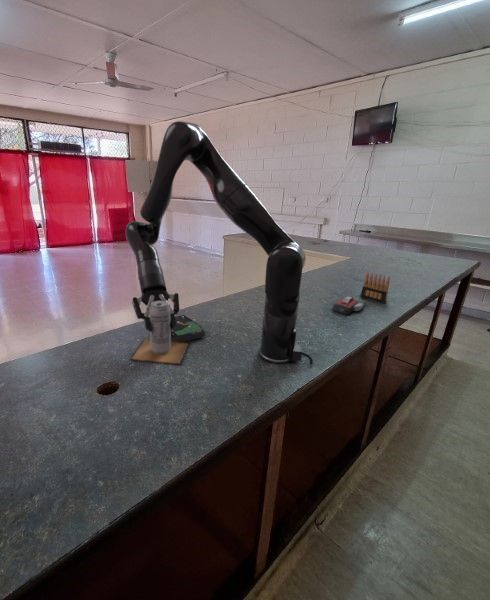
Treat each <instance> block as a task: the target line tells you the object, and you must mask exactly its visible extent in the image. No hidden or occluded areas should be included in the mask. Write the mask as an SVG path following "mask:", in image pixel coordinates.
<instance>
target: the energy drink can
mask: <svg viewBox="0 0 490 600" xmlns="http://www.w3.org/2000/svg"><path fill="white" fill-rule="evenodd" d="M168 303H169V302H168V301H167V302H166V301H154V302H152V303H151V306H150V308H149V317H150V321H151V326H152V331H151V332H149V340H150V345H151V350H152V351H153V352H154V353H156V354H165V353H167V352H168V351H169V349H170V348H171V342H172V337H171V316H170V307H171V306H170V307H169V305H168Z"/></svg>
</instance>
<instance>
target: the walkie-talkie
mask: <svg viewBox="0 0 490 600" xmlns="http://www.w3.org/2000/svg"><path fill="white" fill-rule="evenodd" d="M368 302H369V299H365V300H364V301H362V302H359V301H358V300H357V299H354V297H352V296H348V295H347V296H346V297H342V298H341V299H339V300H338V301H336V302H335V303H333V307H332V311H334V312H338V313H341V314H344V315H345V314H346V315H349V314H351V313H352V312H358V311H361V310H362V309H364V305H365V304H367V303H368Z"/></svg>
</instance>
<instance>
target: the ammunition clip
mask: <svg viewBox="0 0 490 600" xmlns="http://www.w3.org/2000/svg"><path fill="white" fill-rule="evenodd" d="M390 280H391V277H390V276H387V278H386V275H383V277H382V274H379V276H378V274H377V273H375V275H374V274H373V272H371V273H370V272H369V271H367V272H366V274H365V278H364V281H363V286H362V288H361V292H360V296H359V297H360V298H363V299H365V300H371V301H374V302H379V303H382V304H386V303H387V299H388V295H389V294H388V293H389V289H390V282H391V281H390Z"/></svg>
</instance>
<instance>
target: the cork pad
mask: <svg viewBox="0 0 490 600" xmlns="http://www.w3.org/2000/svg"><path fill="white" fill-rule="evenodd" d="M188 346H189V343H188V342H177V341H171V348H170V349H169V351H168V352H167V353H165V354H156V353H154V352H153V351H152V350H151V345H150V339H148V338H147V339H146V338H145V339H144V340H143V342H142V343H141V344H140V346H139V347H138V348H137V350H136V352H135V353H134V354H133V356H132V357H131V361H140V362H141V361H142V362H151V363H152V362H153V363H161V364H162V363H163V364H172V365H181V362H182V359H183V357H184V355H185V352H186V350H187V348H188Z"/></svg>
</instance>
